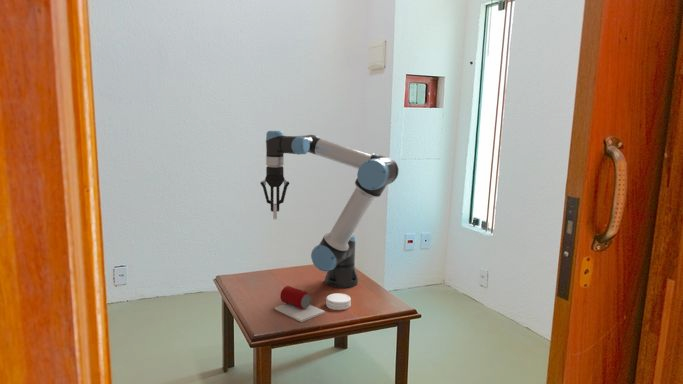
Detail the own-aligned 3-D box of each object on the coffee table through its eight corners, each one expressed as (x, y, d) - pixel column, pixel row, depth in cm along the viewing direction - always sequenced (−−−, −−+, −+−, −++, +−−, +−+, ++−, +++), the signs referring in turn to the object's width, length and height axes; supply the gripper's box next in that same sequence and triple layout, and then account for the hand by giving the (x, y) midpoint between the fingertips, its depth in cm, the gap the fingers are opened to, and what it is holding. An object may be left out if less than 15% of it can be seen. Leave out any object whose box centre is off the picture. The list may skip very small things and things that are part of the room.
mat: (274, 309, 191) (274, 307, 191) (298, 301, 200) (298, 299, 200) (301, 322, 180) (301, 320, 180) (324, 313, 189) (324, 311, 188)
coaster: (355, 308, 194) (355, 299, 194) (332, 312, 190) (332, 303, 189) (343, 299, 203) (343, 291, 203) (321, 303, 199) (322, 295, 198)
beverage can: (281, 305, 196) (303, 313, 188) (277, 292, 193) (298, 300, 185) (292, 294, 200) (314, 302, 193) (288, 282, 197) (309, 289, 190)
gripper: (289, 165, 218) (288, 216, 222) (259, 165, 216) (260, 216, 220) (290, 167, 211) (290, 220, 215) (260, 167, 209) (260, 220, 213)
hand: (275, 218), depth 217 cm, fingers closed
